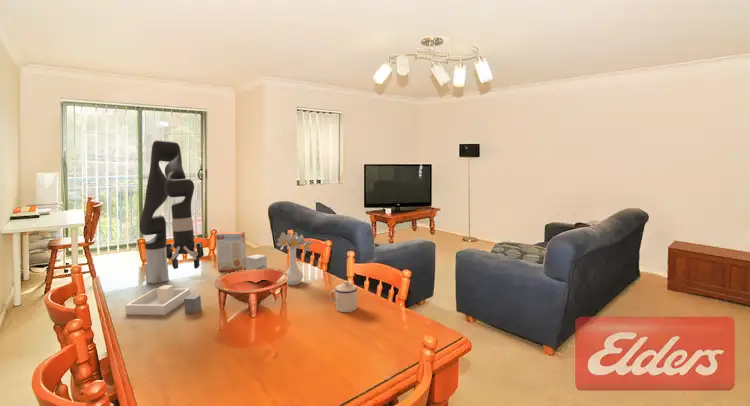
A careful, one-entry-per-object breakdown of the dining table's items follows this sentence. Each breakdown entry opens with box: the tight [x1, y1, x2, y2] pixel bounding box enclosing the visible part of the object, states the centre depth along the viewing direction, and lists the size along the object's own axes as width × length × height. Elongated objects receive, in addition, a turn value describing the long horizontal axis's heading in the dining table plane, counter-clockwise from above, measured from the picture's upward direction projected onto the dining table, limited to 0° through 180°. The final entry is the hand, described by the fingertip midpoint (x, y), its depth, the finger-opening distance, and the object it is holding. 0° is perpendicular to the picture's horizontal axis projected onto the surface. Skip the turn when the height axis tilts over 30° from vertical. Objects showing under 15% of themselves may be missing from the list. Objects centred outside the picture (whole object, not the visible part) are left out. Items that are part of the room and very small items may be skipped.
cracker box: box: [215, 231, 247, 272], centre depth 219 cm, size 14×6×21 cm, turn 84°
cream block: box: [156, 284, 174, 302], centre depth 174 cm, size 4×4×6 cm
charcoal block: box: [183, 294, 202, 314], centre depth 163 cm, size 4×4×6 cm
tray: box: [124, 287, 191, 316], centre depth 169 cm, size 16×20×4 cm
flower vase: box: [276, 231, 314, 286], centre depth 196 cm, size 13×18×25 cm
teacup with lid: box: [328, 280, 358, 313], centre depth 165 cm, size 12×9×12 cm
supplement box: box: [245, 254, 268, 270], centre depth 201 cm, size 7×7×13 cm
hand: (186, 268), depth 163 cm, fingers open, 8 cm apart
